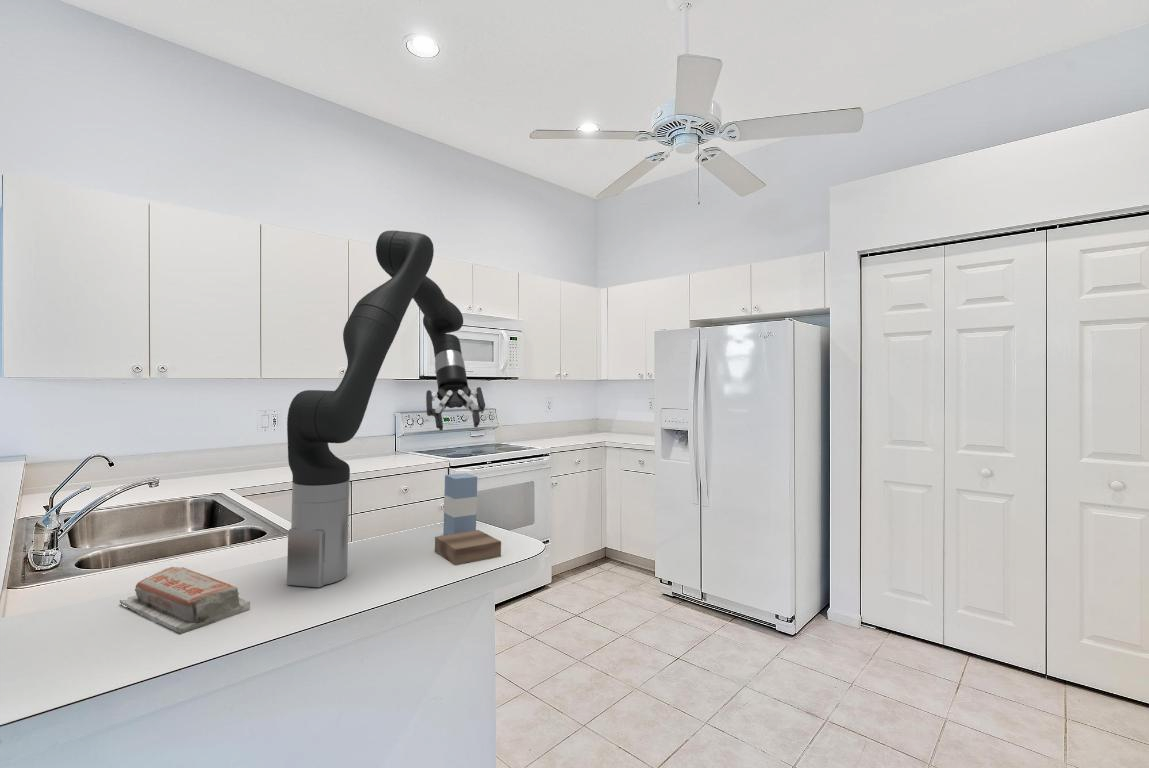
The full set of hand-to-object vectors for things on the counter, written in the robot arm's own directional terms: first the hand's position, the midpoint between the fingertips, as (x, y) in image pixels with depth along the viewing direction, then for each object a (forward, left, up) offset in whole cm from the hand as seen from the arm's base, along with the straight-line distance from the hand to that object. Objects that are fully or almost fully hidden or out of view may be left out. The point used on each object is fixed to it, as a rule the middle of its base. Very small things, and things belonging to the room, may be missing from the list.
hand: (459, 427), depth 133 cm
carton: (-10, -4, -24) cm, 26 cm away
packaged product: (-54, +23, -25) cm, 64 cm away
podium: (-20, -10, -24) cm, 33 cm away
